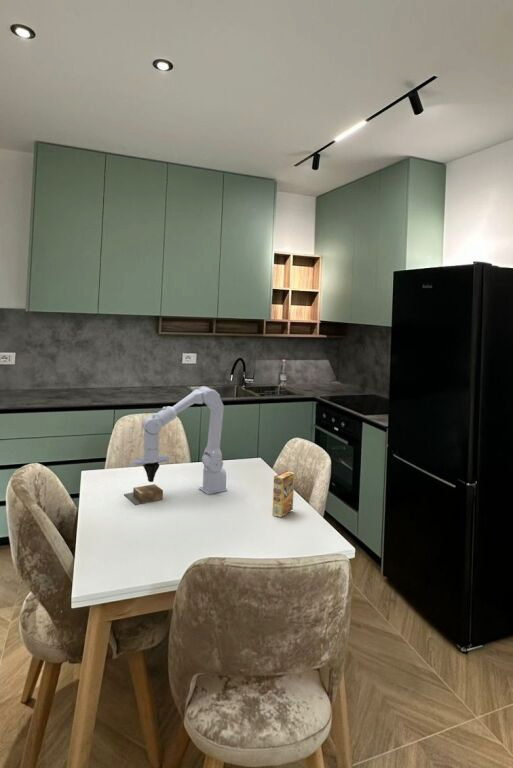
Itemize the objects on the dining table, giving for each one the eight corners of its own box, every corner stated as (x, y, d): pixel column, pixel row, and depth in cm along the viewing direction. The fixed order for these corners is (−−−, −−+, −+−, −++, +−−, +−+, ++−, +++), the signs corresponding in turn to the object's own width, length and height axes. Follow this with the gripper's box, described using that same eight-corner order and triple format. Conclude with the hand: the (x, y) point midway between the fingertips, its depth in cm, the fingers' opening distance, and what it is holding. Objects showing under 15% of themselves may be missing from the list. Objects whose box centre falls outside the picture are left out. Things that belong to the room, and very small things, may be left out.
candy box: (281, 518, 177) (283, 478, 175) (271, 515, 179) (273, 475, 177) (293, 511, 184) (295, 472, 182) (283, 508, 186) (285, 470, 184)
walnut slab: (154, 484, 195) (133, 487, 190) (163, 490, 189) (141, 494, 183) (154, 492, 196) (133, 496, 190) (162, 498, 189) (141, 502, 184)
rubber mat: (147, 490, 198) (147, 489, 198) (159, 500, 188) (159, 499, 188) (123, 495, 192) (123, 494, 192) (135, 505, 183) (135, 504, 182)
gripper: (164, 443, 195) (163, 475, 197) (129, 447, 187) (129, 481, 188) (171, 447, 189) (170, 480, 191) (136, 452, 181) (136, 486, 183)
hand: (150, 481), depth 189 cm, fingers closed
